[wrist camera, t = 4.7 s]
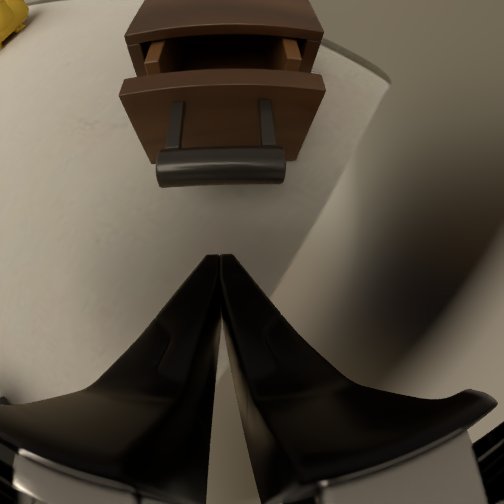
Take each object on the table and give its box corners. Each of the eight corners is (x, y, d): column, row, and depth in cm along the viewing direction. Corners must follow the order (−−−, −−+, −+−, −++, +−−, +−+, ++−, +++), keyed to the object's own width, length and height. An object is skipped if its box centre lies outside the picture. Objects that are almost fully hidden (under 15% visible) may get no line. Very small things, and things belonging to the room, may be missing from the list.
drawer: (302, 223, 16) (346, 170, 10) (145, 227, 16) (97, 177, 9) (277, 49, 20) (289, -10, 13) (172, 51, 19) (163, -8, 12)
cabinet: (294, 120, 19) (324, 31, 10) (153, 123, 18) (123, 36, 10) (276, 30, 22) (289, -34, 13) (175, 31, 21) (167, -33, 12)
